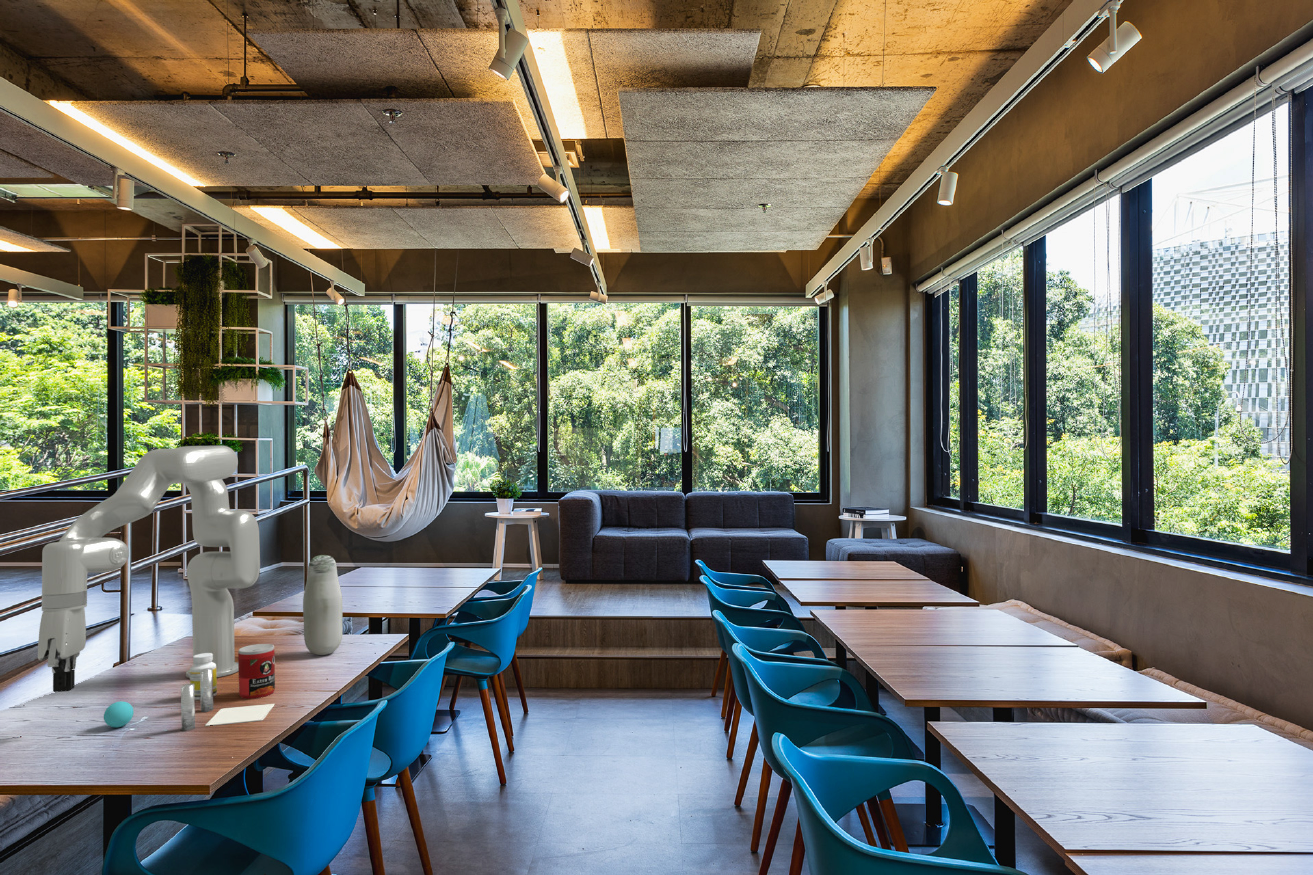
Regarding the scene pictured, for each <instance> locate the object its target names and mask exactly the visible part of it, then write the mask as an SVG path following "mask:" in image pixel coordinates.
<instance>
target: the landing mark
mask: <svg viewBox="0 0 1313 875" xmlns="http://www.w3.org/2000/svg"><path fill="white" fill-rule="evenodd" d="M274 706H275V703H270V704H269V703H267V704H256V705H248V706H247V705H246V706H244V705H243V706H237V707H236V706H235V707H225V708H220V709H219V710H218V712H216V713H215V715H213V717H212V718H210V719H209V721H208V722H206V723H205V727H209V726H210V725H213V726H222V725H231V724H233V725H234V724H240V723H250V722H253V723H254V722H261V721H263V720H264V719H265V718H266V717H267V716H268V714H269V713H270V712H271V710H272V709H273V707H274ZM210 727H211V726H210Z"/></svg>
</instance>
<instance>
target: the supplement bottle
mask: <svg viewBox="0 0 1313 875" xmlns="http://www.w3.org/2000/svg"><path fill="white" fill-rule="evenodd" d="M212 660H213V654H212V653H203V654H198V655H195V656H193V655H192V665H191V666H190V668H189V669H190V678H189V680H190V682H189V684H194V692H195V701H197V700H198V701H201V690H200V670H202V669H206V668H212V669H213V697H215V696H216V695H217V693H218V682H217V678H218V677H217V675H216V664H215V663H213V662H212ZM193 663H194V665H193Z"/></svg>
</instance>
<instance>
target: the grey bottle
mask: <svg viewBox="0 0 1313 875" xmlns="http://www.w3.org/2000/svg"><path fill="white" fill-rule="evenodd" d="M337 567H338V566H337V563H336V560H335V559H334V557H333V556H331V555H327V554H320V555H316V556H314V557H313V558H311V560H310V561H309V562H308V566H307V578H306V583H305V587H304V591H303V598H302V615H303V616H302V617H303V639H304V644H305V647H306V649H307V650H308V651H309V652H310V653H311V654H314V655H318V656H324V655H329V654H333V652H336V650H337V649H338V648H339V647H340V645H341V643H342V640H343V595H342V594H343V593H342V589H341V588H342V587H341V586H340V582H339V581H340V580H339V576H338V568H337Z"/></svg>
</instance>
